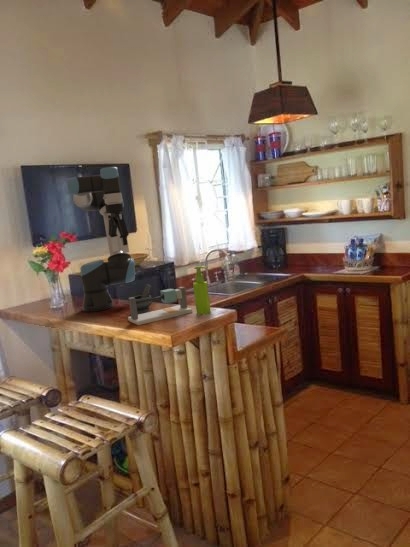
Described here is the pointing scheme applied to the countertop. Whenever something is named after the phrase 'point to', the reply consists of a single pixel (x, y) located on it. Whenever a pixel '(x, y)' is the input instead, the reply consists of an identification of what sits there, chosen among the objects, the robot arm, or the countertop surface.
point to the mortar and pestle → (144, 306)
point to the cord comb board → (161, 313)
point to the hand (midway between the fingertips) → (120, 252)
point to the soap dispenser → (201, 293)
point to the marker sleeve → (168, 295)
